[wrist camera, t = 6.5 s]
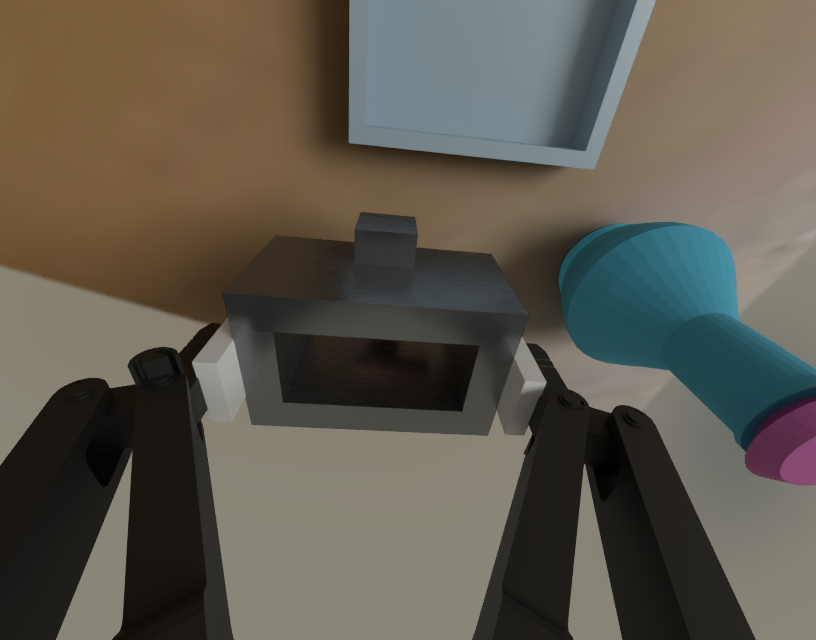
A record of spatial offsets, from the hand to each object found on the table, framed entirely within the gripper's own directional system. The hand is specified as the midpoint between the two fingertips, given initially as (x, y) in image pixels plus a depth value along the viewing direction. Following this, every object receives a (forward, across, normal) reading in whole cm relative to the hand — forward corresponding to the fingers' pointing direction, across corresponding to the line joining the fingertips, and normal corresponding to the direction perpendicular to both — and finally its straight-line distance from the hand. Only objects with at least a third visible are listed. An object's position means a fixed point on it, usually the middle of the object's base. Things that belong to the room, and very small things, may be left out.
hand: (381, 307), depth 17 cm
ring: (0, 0, 0) cm, 0 cm away
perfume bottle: (+7, +16, 0) cm, 17 cm away
